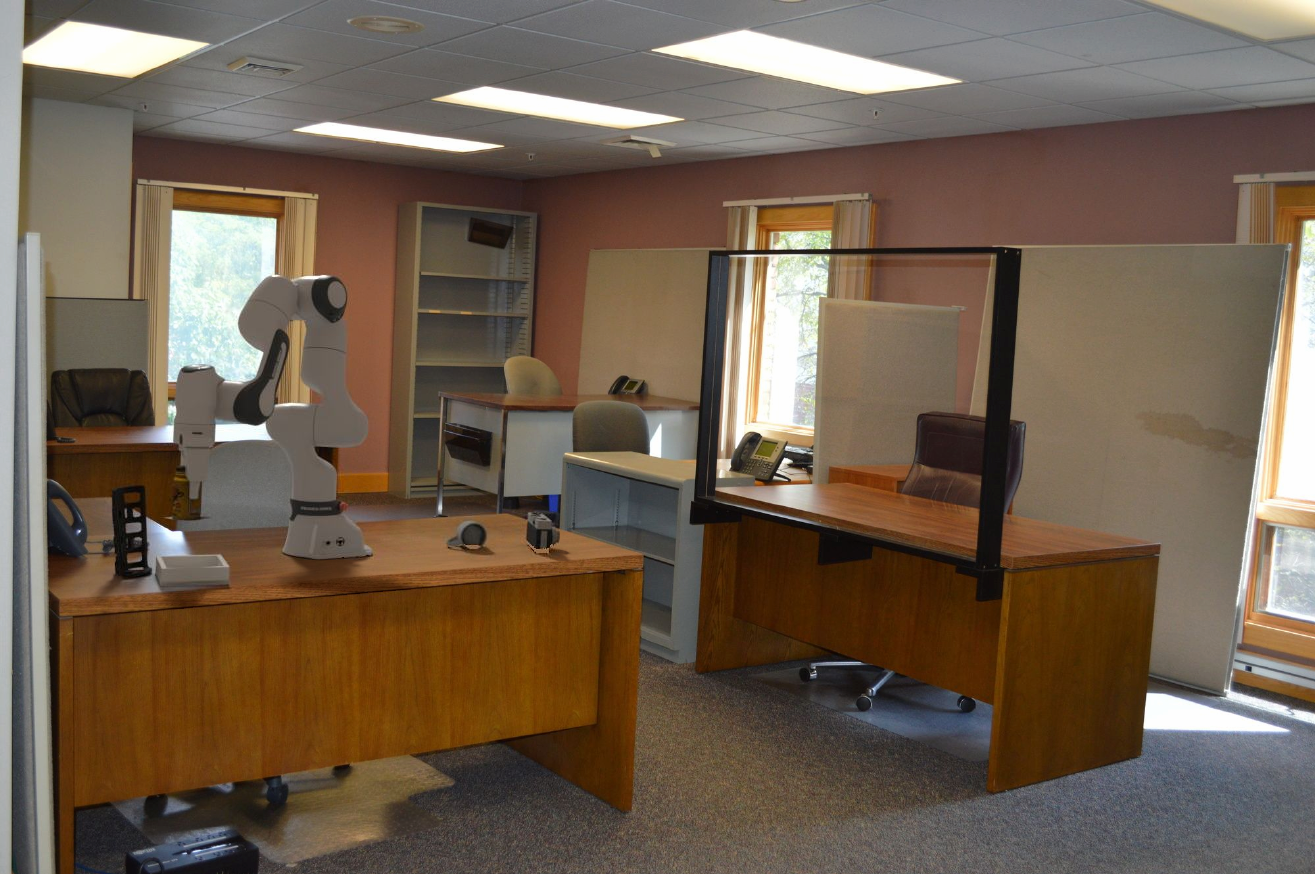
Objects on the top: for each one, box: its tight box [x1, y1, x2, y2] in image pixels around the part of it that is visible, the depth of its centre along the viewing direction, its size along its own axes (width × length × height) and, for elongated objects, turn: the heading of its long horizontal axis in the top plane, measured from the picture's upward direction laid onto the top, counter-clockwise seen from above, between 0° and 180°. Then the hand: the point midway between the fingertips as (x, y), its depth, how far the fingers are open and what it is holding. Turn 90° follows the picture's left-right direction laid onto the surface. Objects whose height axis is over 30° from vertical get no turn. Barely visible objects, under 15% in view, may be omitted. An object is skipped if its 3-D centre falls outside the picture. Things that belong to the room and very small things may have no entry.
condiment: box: [163, 465, 213, 522], centre depth 258 cm, size 7×8×12 cm
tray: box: [155, 554, 231, 588], centre depth 257 cm, size 14×14×4 cm
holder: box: [110, 484, 153, 580], centre depth 257 cm, size 11×8×20 cm
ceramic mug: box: [445, 520, 488, 548], centre depth 318 cm, size 11×8×8 cm
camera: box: [525, 511, 561, 549], centre depth 324 cm, size 14×8×10 cm, turn 18°
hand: (191, 496), depth 257 cm, fingers closed on condiment, 6 cm apart
